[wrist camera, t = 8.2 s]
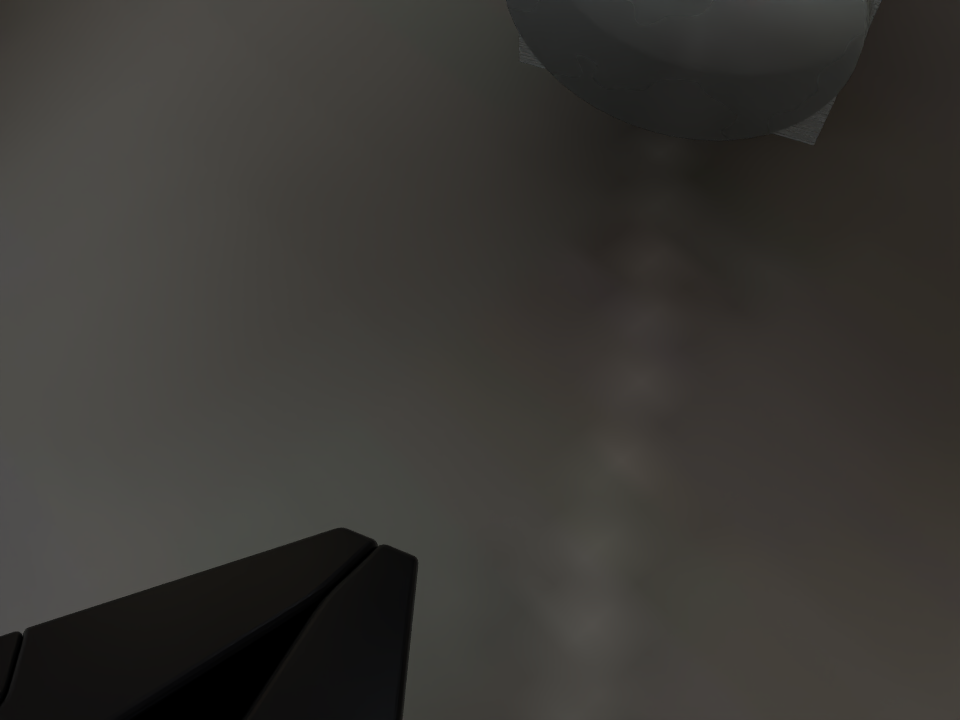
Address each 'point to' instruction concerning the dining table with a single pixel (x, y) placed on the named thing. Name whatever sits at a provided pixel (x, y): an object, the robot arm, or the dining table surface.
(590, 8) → the cube on metal disc
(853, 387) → the dining table surface
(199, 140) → the dining table surface
